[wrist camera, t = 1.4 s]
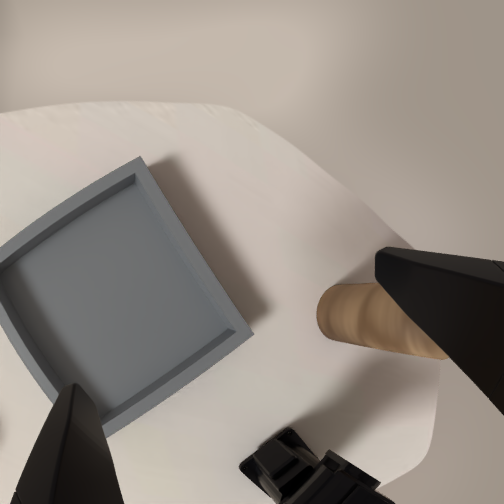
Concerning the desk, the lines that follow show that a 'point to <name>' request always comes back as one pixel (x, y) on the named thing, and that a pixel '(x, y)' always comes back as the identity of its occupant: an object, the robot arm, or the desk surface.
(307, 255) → the desk surface
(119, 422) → the tray
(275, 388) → the desk surface
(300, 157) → the desk surface
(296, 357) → the desk surface
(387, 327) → the wooden cylinder
